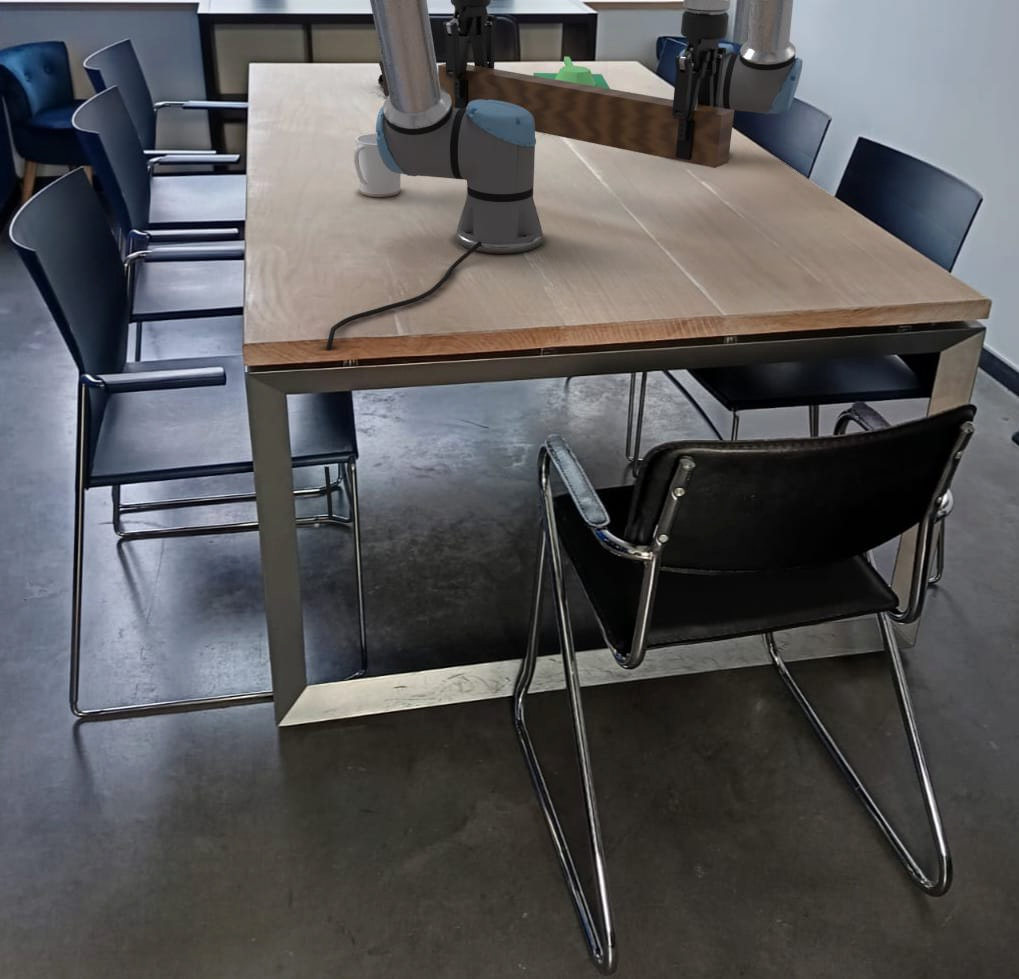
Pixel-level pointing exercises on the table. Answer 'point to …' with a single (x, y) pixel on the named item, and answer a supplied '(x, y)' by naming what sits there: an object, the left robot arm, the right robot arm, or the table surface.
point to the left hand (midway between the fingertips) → (470, 111)
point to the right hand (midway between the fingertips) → (690, 155)
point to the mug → (373, 169)
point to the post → (602, 114)
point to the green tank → (576, 75)
